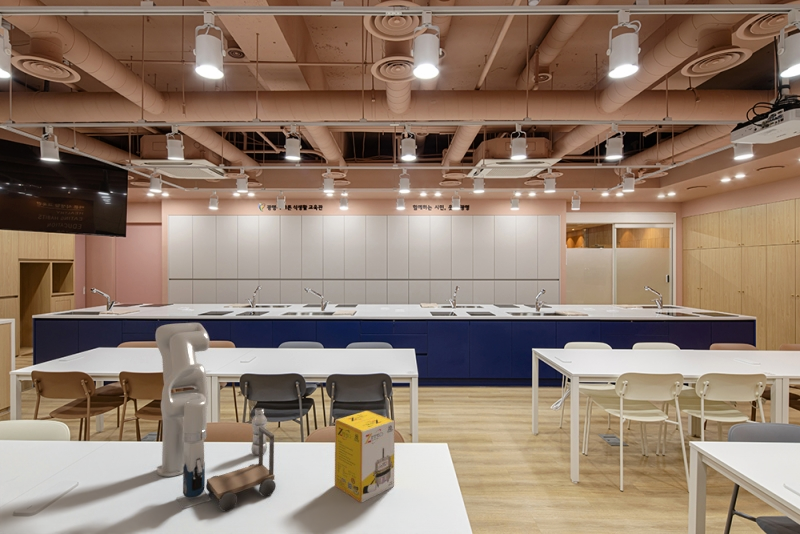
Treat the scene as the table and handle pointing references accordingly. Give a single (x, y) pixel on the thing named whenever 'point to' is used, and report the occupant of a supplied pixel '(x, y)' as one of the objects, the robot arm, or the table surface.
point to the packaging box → (364, 454)
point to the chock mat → (193, 500)
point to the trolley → (245, 477)
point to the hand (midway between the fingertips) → (193, 484)
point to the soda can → (188, 483)
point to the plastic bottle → (258, 422)
